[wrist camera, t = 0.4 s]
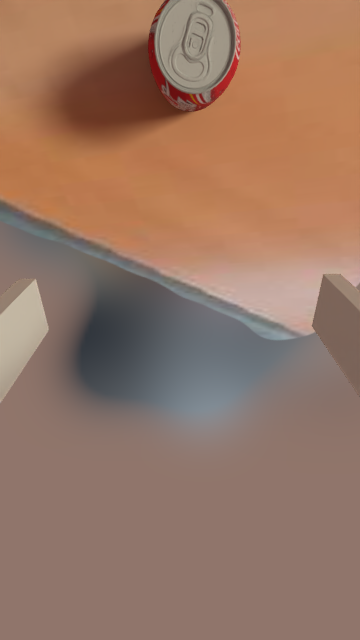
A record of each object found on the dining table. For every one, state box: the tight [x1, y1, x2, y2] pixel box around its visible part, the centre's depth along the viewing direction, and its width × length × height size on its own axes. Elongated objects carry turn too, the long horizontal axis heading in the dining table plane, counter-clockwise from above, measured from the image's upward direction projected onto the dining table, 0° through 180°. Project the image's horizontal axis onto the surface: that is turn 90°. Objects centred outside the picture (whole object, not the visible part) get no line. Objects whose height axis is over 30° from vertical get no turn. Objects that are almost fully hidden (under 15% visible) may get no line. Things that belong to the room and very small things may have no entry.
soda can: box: [148, 0, 240, 112], centre depth 28 cm, size 7×7×12 cm
